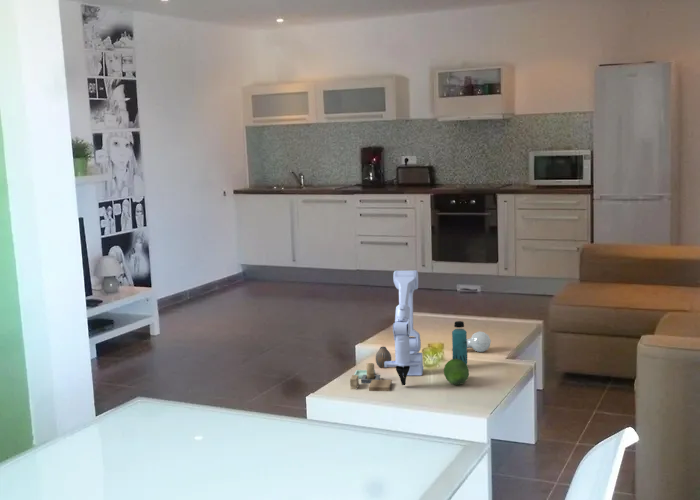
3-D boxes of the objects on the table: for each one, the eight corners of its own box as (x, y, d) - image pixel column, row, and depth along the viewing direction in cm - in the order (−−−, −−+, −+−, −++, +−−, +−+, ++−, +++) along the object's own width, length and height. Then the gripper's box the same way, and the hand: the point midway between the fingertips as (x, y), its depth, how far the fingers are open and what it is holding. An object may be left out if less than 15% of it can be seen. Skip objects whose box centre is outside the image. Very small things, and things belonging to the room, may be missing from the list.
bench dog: (358, 384, 328) (358, 375, 328) (356, 389, 322) (356, 379, 322) (352, 384, 329) (352, 375, 328) (350, 389, 323) (350, 379, 322)
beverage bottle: (450, 369, 345) (449, 323, 343) (454, 364, 351) (453, 319, 349) (465, 370, 343) (464, 323, 340) (469, 365, 349) (468, 320, 346)
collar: (380, 378, 336) (380, 374, 336) (378, 383, 329) (378, 379, 329) (363, 378, 337) (363, 374, 337) (361, 383, 330) (361, 379, 330)
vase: (392, 364, 356) (391, 345, 355) (391, 368, 349) (390, 349, 348) (376, 364, 357) (375, 345, 356) (375, 369, 350) (374, 349, 349)
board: (391, 384, 328) (391, 379, 328) (389, 392, 318) (389, 387, 318) (372, 384, 329) (372, 379, 329) (369, 392, 320) (368, 387, 319)
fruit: (444, 377, 334) (443, 353, 332) (468, 377, 332) (467, 353, 331) (444, 388, 319) (443, 363, 317) (469, 388, 318) (469, 363, 316)
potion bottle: (492, 355, 369) (460, 358, 372) (491, 339, 376) (459, 342, 379) (490, 342, 363) (456, 346, 366) (488, 326, 370) (456, 329, 373)
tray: (375, 373, 343) (375, 370, 343) (372, 378, 335) (372, 375, 335) (356, 373, 344) (356, 370, 344) (353, 378, 337) (353, 375, 336)
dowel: (375, 379, 334) (374, 363, 333) (374, 381, 331) (373, 365, 330) (367, 379, 335) (366, 363, 334) (366, 381, 332) (365, 365, 331)
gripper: (383, 353, 318) (384, 387, 320) (420, 353, 315) (421, 387, 317) (385, 349, 325) (386, 382, 326) (421, 349, 322) (422, 382, 324)
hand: (403, 384), depth 322 cm, fingers closed
